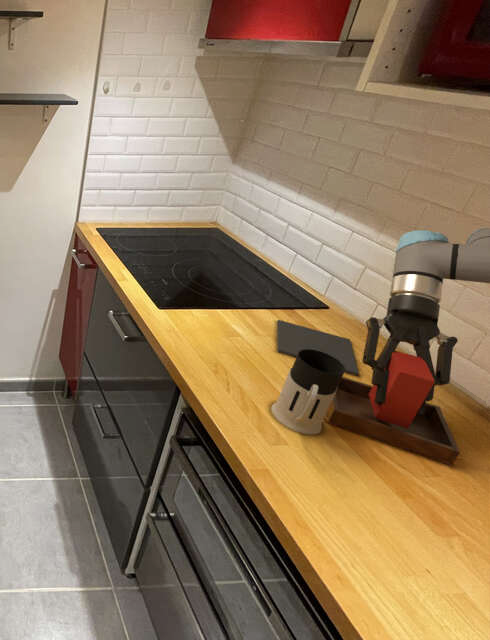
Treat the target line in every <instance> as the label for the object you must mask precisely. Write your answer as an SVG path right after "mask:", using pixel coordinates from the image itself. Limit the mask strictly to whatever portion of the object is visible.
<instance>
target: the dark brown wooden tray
mask: <svg viewBox="0 0 490 640" xmlns="http://www.w3.org/2000/svg"><path fill="white" fill-rule="evenodd" d="M372 387H373V385H372V384H367V383H364V382H361V381H357V380H354V379H351V378H348V377H344V376H342V378H341V380H340V382H339V384H338V389H337V391H336V393H335V396H334V398H333V400H332V402H331V404H330V406H329V408H328V410H327V412H326V419H327V423H328V424H331V425H334V426H337V427H340V428H341V429H342V428H343V429H345V430H348V431H351V432H353V433H357V434H359V435H362V436H365V437H368V438H371V439H374V440H377V441H379V442H382V443H385V444H388V445H391V446H393V447H397V448H399V449H402V450H405V451H408V452H410V453H413V454H416V455H419V456H422V457H425V458H428V459H430V460H434V461H436V462H439V463H442V464H444V465H447V466H450V467H452V465H453V464H454V463H455V461H456V459H457V458H458V457H459V455H460V454H461V451H460V448H459V446H458V444H457V442H456V440H455V437H454V436H453V433H452V431H451V429H450V427H449V424H448V422H447V420H446V418H445V416H444V414H443V411H442V409H441V407H440V406H439V405H435V404H433V403H429V402H426V405H425V413H424V415H423V416H415V417H414V419H413V421H412V422H411V424H410V426H409V428H408V429H407V428H404V427H401V426H398V425H395V424H392V423H389V422H386V421H383V420H380V419H376V418H375V416H374V412H373V408H372V405H371V401H370V397H369V393H370V391H371V389H372Z"/></svg>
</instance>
